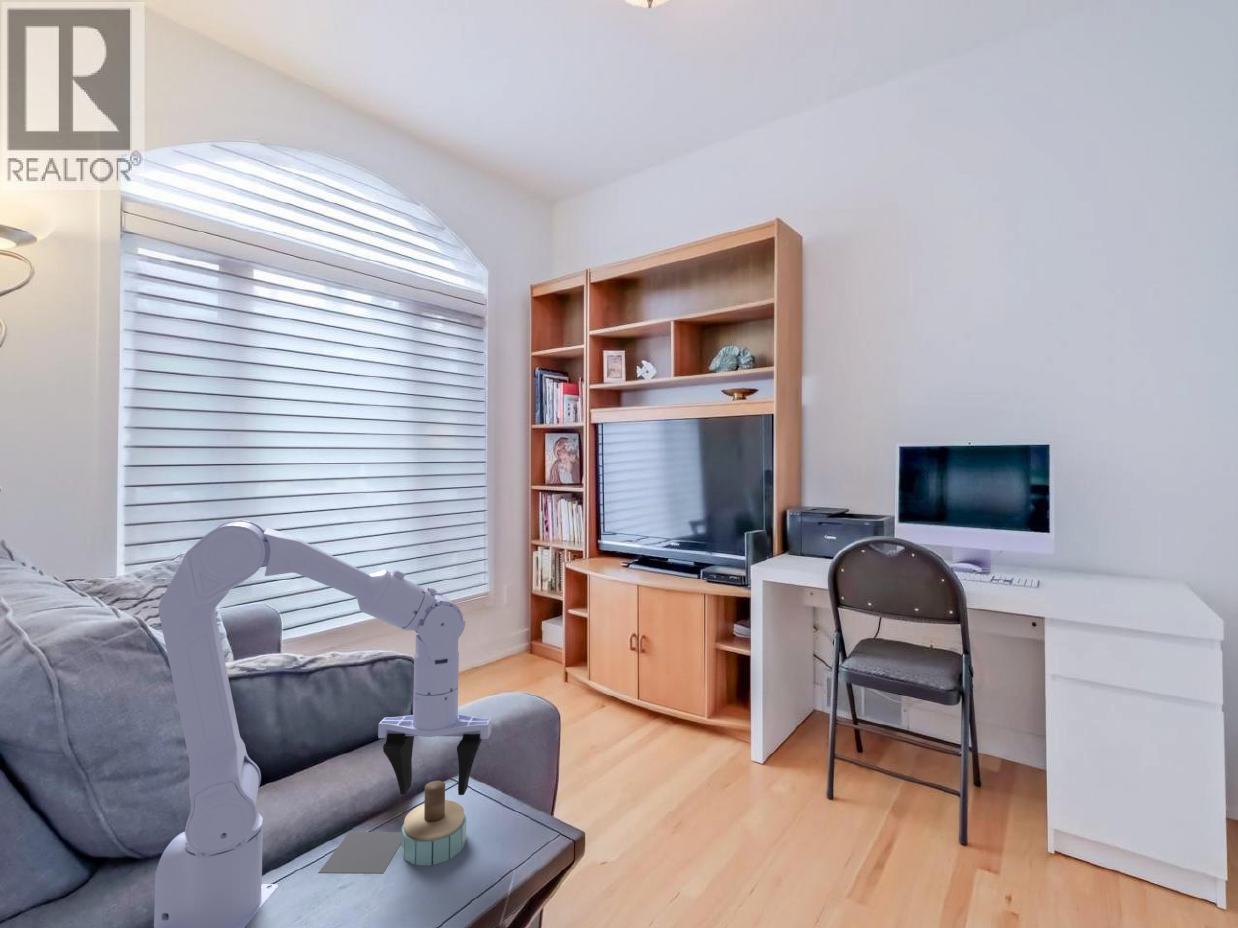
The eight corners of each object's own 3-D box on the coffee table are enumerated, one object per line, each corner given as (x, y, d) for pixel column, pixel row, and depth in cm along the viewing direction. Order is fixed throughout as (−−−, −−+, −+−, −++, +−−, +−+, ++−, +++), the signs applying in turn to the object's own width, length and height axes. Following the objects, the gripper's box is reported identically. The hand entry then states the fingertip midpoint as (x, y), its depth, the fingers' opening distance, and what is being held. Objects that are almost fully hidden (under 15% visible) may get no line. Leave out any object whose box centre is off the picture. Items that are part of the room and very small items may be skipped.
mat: (318, 875, 70) (318, 872, 70) (349, 834, 78) (349, 831, 78) (383, 875, 70) (383, 872, 70) (407, 835, 78) (407, 832, 78)
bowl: (392, 867, 71) (392, 841, 71) (415, 828, 79) (415, 805, 79) (455, 868, 71) (455, 842, 71) (472, 828, 79) (472, 805, 79)
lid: (394, 839, 72) (394, 801, 72) (417, 805, 79) (417, 770, 79) (453, 841, 72) (454, 802, 72) (471, 806, 79) (471, 771, 79)
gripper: (496, 677, 80) (495, 775, 79) (394, 676, 80) (392, 774, 79) (484, 696, 73) (483, 804, 72) (372, 695, 73) (369, 803, 72)
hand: (434, 790), depth 75 cm, fingers open, 7 cm apart
